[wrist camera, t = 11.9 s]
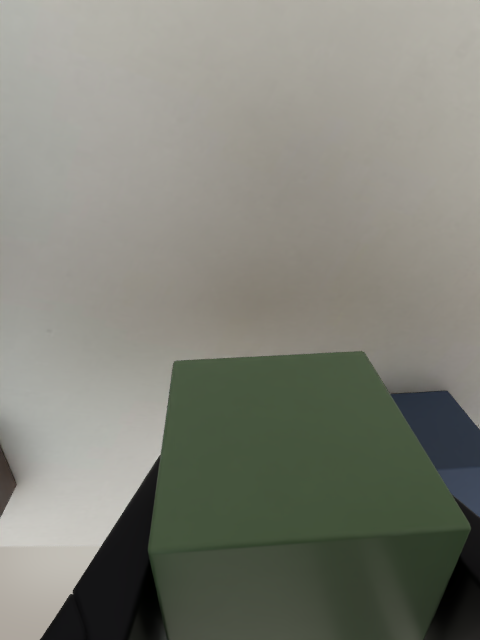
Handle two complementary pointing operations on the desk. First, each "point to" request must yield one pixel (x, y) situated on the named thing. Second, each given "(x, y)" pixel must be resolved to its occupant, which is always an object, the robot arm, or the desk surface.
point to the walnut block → (5, 483)
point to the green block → (297, 505)
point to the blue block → (446, 441)
